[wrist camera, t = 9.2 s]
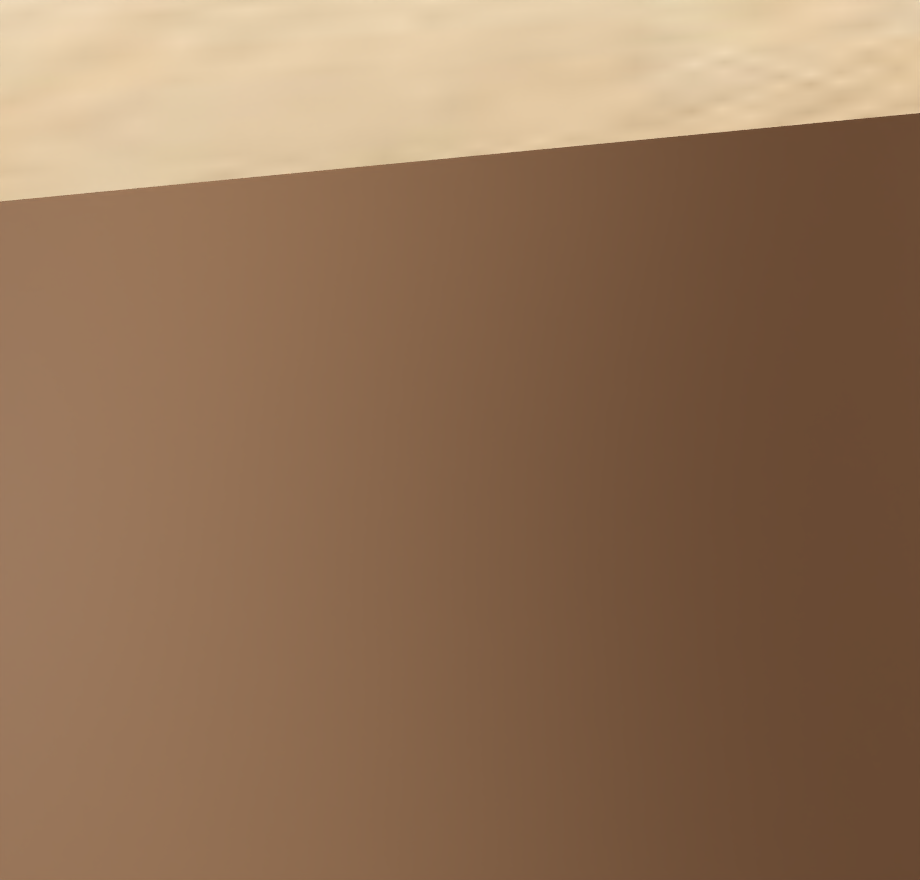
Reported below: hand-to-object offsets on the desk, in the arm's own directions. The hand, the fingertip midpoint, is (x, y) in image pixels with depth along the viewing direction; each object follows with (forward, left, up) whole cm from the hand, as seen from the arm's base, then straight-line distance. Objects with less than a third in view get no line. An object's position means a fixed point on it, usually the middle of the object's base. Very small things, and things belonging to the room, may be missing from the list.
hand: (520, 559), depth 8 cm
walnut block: (0, -1, -5) cm, 5 cm away
